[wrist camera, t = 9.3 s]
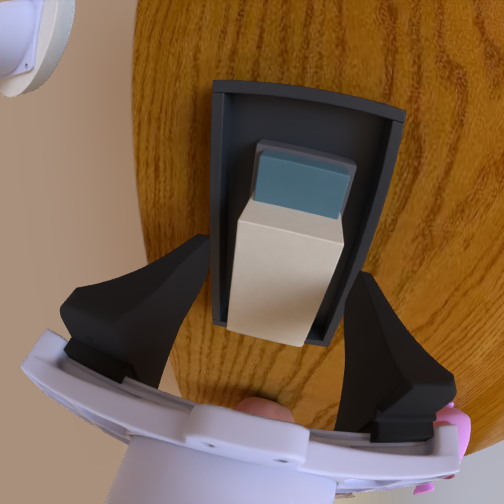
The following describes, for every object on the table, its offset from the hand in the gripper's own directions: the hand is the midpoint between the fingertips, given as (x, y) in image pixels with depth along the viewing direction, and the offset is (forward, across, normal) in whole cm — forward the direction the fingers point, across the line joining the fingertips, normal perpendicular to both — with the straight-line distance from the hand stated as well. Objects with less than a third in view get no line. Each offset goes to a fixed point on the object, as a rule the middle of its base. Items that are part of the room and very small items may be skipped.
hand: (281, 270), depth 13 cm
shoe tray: (+4, 0, 0) cm, 4 cm away
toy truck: (+4, 0, 0) cm, 4 cm away
